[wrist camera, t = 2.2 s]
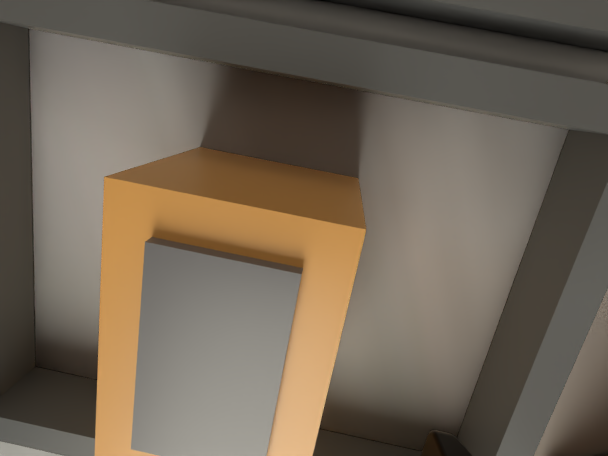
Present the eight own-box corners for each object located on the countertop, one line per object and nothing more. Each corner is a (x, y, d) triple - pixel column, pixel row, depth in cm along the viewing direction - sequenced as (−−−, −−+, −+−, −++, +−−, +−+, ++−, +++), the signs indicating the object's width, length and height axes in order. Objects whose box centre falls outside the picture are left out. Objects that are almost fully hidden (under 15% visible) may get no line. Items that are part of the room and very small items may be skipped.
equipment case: (11, 382, 16) (-46, 430, 14) (-6, -15, 12) (-91, -43, 10) (468, 484, 16) (490, 552, 13) (619, 99, 11) (691, 99, 9)
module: (181, 338, 15) (87, 473, 10) (201, 146, 13) (95, 180, 8) (315, 367, 15) (298, 521, 10) (358, 177, 13) (366, 234, 7)
